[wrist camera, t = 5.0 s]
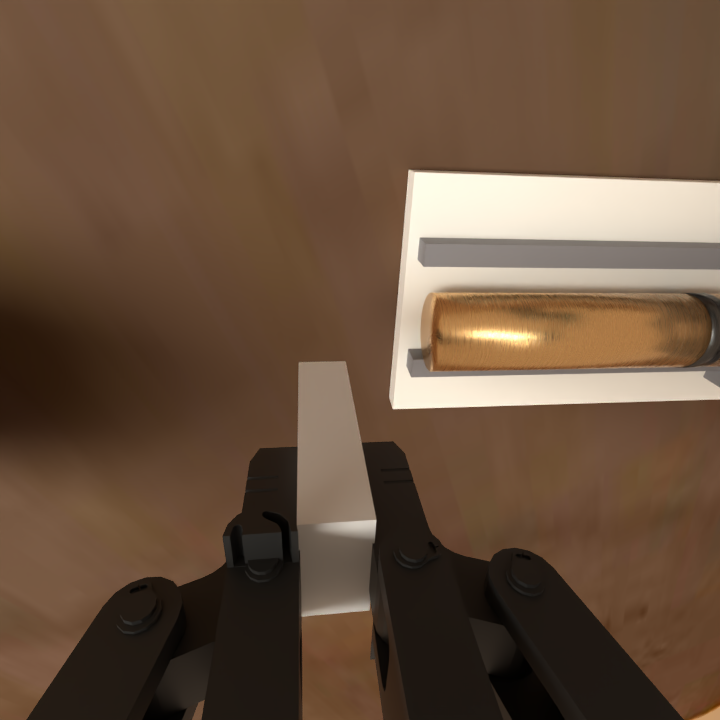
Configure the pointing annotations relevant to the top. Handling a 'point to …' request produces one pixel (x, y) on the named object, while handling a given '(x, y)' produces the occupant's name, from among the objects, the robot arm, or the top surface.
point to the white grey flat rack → (551, 273)
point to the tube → (569, 331)
